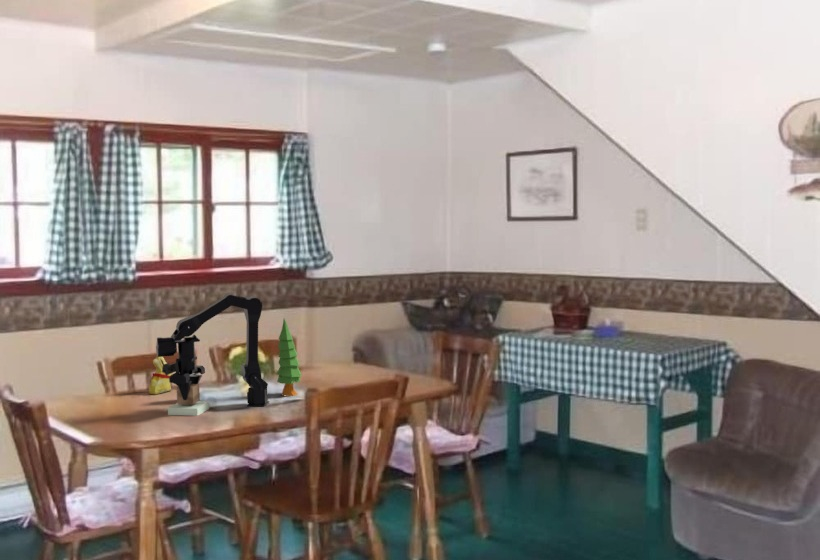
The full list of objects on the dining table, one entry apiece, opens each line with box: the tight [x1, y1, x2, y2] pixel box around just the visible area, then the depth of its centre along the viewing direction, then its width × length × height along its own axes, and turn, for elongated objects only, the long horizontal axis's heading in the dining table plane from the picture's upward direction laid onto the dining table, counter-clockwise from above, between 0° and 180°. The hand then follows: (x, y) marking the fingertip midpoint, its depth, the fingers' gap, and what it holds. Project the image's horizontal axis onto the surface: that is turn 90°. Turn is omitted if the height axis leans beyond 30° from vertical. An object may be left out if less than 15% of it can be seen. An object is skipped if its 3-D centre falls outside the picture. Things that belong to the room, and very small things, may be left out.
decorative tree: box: [276, 317, 302, 397], centre depth 371 cm, size 10×9×30 cm
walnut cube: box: [176, 383, 201, 404], centre depth 346 cm, size 6×6×6 cm
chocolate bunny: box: [148, 356, 173, 395], centre depth 381 cm, size 7×11×15 cm, turn 141°
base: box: [167, 400, 210, 417], centre depth 347 cm, size 11×11×3 cm
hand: (188, 397), depth 346 cm, fingers closed on walnut cube, 6 cm apart
